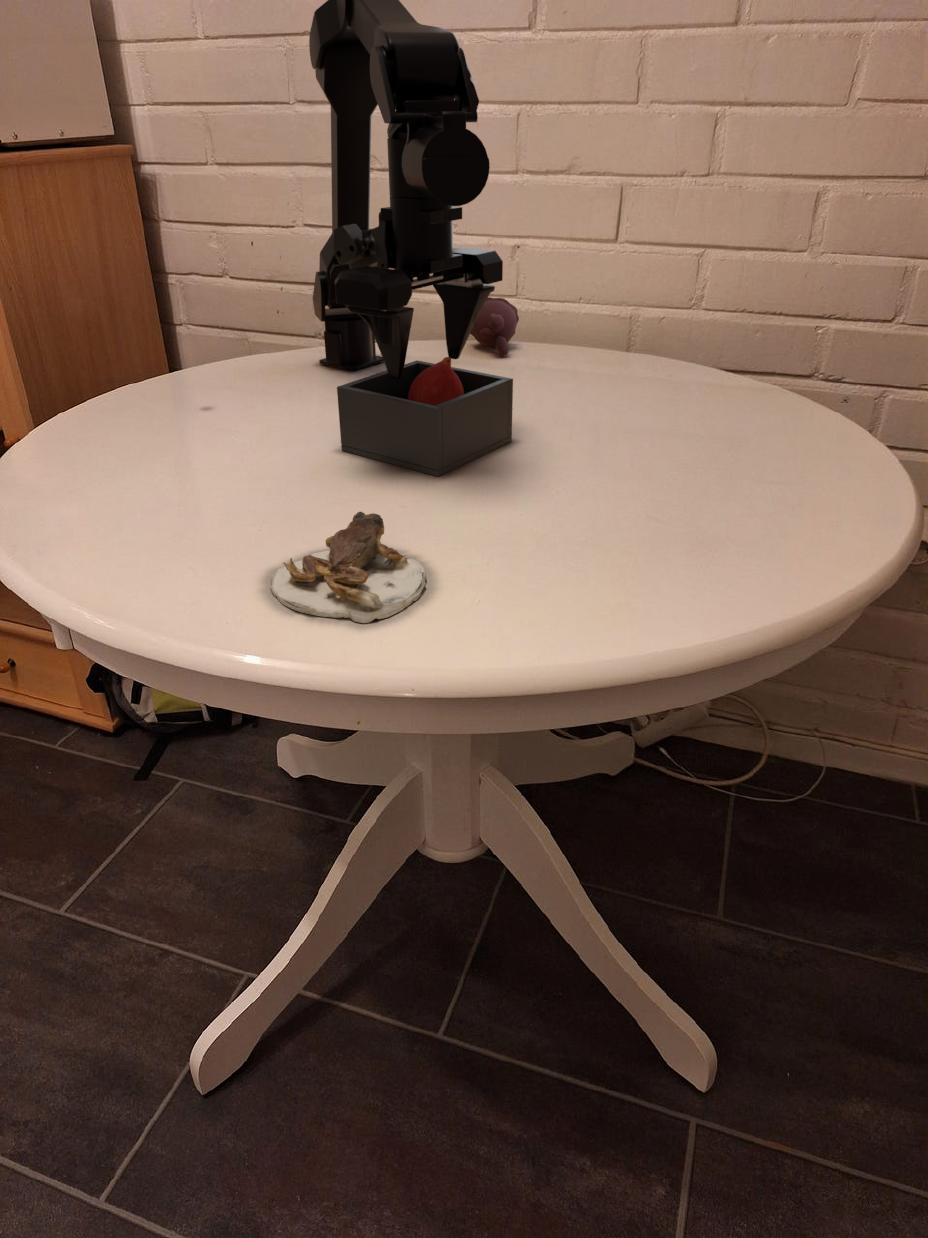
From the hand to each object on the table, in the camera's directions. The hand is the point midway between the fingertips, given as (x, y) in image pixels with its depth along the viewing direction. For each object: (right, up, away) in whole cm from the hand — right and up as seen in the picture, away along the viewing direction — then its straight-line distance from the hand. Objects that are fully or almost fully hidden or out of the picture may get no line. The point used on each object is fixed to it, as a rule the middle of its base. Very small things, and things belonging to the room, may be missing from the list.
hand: (425, 368), depth 90 cm
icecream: (+8, +14, +41) cm, 44 cm away
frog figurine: (-5, -22, -22) cm, 31 cm away
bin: (0, -7, +4) cm, 8 cm away
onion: (0, -6, +4) cm, 7 cm away
